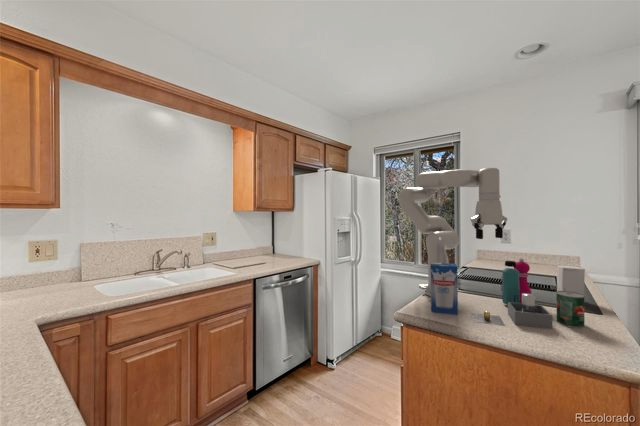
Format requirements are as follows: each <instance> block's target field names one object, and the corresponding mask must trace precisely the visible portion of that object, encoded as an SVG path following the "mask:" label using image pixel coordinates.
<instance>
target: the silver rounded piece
mask: <svg viewBox="0 0 640 426" xmlns="http://www.w3.org/2000/svg"><path fill="white" fill-rule="evenodd" d="M536 299H537V298H536V295H535V294H533V293H531V294H529V293H522V310H517V311H521V312H531V313H537V312H536V305H537V303H536V301H537V300H536Z"/></svg>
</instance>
